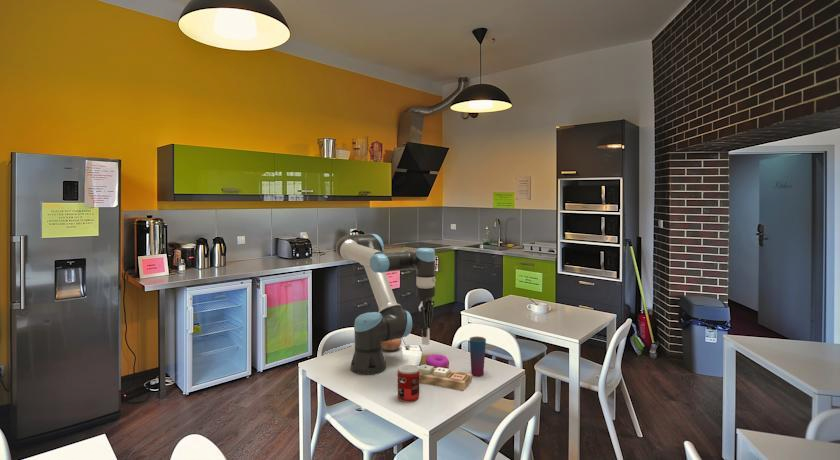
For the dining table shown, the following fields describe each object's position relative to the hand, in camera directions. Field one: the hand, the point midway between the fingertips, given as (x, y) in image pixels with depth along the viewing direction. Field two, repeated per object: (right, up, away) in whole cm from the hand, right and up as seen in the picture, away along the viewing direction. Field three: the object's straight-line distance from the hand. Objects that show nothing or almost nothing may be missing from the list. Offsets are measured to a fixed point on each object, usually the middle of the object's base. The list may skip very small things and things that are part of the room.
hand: (425, 343), depth 182 cm
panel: (+6, -14, -2) cm, 16 cm away
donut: (+5, -14, +14) cm, 20 cm away
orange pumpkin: (-17, -12, +37) cm, 42 cm away
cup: (+22, -14, +5) cm, 27 cm away
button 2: (+6, -12, -2) cm, 14 cm away
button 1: (0, -12, +1) cm, 12 cm away
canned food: (-7, -16, -17) cm, 24 cm away
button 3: (+13, -14, -5) cm, 19 cm away
